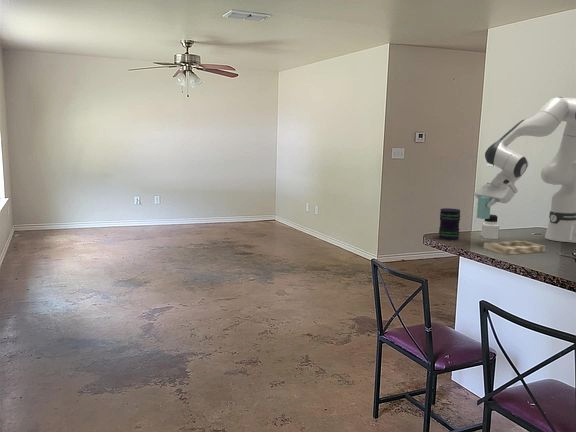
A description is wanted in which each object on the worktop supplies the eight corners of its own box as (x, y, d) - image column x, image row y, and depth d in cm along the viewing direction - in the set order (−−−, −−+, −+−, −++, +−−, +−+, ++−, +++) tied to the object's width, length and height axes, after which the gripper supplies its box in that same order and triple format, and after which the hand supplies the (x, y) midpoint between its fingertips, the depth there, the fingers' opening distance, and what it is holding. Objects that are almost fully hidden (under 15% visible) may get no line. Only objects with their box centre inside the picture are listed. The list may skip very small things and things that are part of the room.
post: (483, 217, 236) (485, 196, 235) (489, 218, 233) (491, 197, 231) (476, 217, 235) (478, 196, 234) (482, 219, 231) (483, 197, 230)
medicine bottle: (498, 239, 252) (500, 216, 250) (483, 238, 253) (485, 215, 251) (495, 236, 259) (497, 214, 257) (481, 236, 260) (482, 213, 258)
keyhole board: (521, 245, 238) (522, 240, 237) (544, 251, 225) (545, 246, 224) (483, 248, 231) (484, 242, 231) (505, 254, 218) (505, 249, 218)
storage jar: (447, 241, 247) (448, 211, 244) (434, 237, 256) (436, 208, 253) (463, 239, 250) (464, 210, 248) (450, 236, 259) (451, 207, 257)
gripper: (482, 178, 243) (464, 198, 241) (513, 182, 224) (494, 204, 222) (489, 187, 245) (471, 207, 244) (520, 191, 226) (502, 213, 224)
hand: (483, 205), depth 233 cm, fingers closed on post, 4 cm apart
